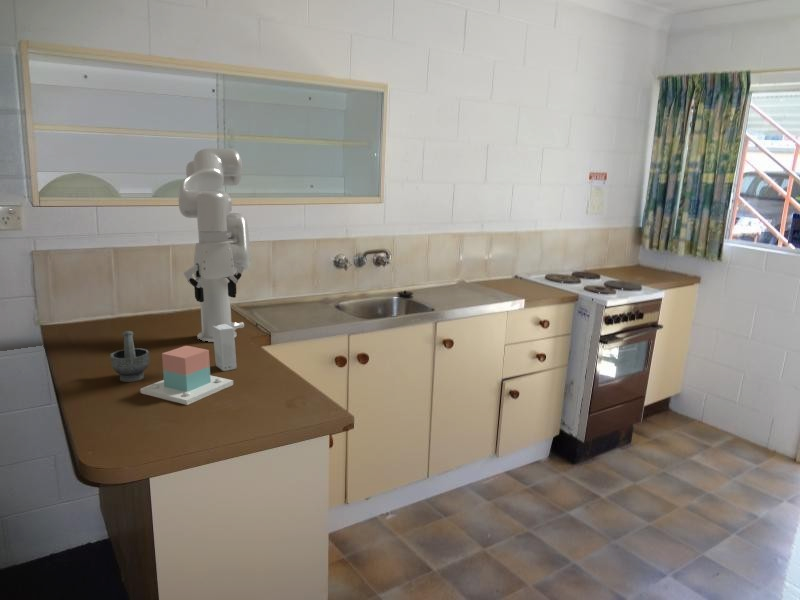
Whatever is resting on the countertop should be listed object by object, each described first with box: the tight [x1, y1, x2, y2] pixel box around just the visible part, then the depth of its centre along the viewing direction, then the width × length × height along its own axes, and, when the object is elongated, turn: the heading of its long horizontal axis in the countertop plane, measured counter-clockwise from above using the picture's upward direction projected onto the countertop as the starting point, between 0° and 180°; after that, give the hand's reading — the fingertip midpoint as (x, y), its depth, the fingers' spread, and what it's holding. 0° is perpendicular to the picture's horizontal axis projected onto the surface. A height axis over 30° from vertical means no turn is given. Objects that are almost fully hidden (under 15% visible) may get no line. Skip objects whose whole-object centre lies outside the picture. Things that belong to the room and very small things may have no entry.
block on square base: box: [139, 345, 234, 406], centre depth 156 cm, size 16×16×10 cm
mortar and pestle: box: [110, 330, 150, 383], centre depth 164 cm, size 11×9×12 cm
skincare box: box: [213, 324, 237, 372], centre depth 173 cm, size 6×4×12 cm
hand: (216, 299), depth 170 cm, fingers open, 9 cm apart
